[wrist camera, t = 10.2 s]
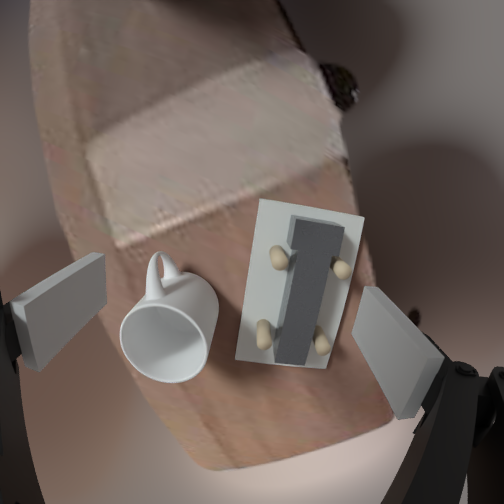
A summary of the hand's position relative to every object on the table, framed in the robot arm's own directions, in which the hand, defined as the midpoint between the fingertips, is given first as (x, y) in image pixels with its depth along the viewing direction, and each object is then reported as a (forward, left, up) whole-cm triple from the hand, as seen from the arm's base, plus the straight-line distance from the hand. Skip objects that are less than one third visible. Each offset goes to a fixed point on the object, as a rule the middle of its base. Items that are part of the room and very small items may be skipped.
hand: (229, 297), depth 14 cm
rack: (+6, +7, -20) cm, 22 cm away
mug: (+8, -6, -21) cm, 23 cm away
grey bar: (+5, +7, -19) cm, 21 cm away
